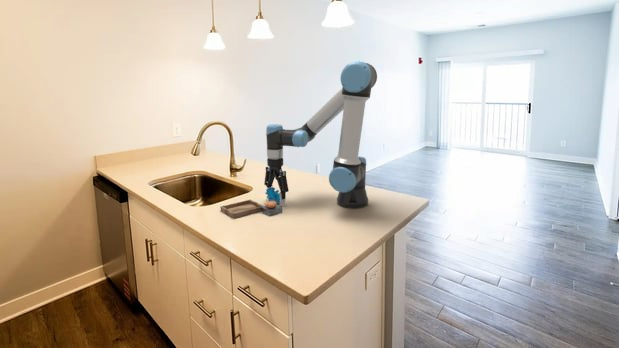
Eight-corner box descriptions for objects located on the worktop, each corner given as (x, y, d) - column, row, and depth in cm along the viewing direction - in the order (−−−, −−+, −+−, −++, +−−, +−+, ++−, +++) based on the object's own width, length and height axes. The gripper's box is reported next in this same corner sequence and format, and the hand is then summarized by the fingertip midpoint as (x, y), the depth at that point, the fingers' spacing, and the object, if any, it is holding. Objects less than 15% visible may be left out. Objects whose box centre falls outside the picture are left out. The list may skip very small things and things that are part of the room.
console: (282, 212, 157) (282, 207, 156) (269, 216, 152) (269, 210, 152) (273, 208, 162) (273, 203, 161) (260, 212, 158) (260, 206, 157)
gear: (273, 204, 163) (263, 187, 166) (266, 211, 166) (256, 194, 169) (288, 201, 171) (279, 185, 175) (281, 208, 174) (272, 191, 178)
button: (278, 208, 156) (278, 202, 156) (269, 210, 154) (269, 204, 153) (272, 205, 160) (272, 200, 159) (264, 208, 157) (264, 202, 156)
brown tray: (264, 210, 159) (264, 206, 159) (233, 219, 150) (233, 214, 149) (250, 203, 169) (250, 199, 168) (220, 211, 159) (220, 206, 158)
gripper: (296, 160, 158) (296, 206, 163) (268, 153, 174) (270, 195, 180) (282, 162, 153) (283, 210, 159) (255, 155, 170) (257, 198, 175)
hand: (276, 202), depth 169 cm, fingers open, 10 cm apart
